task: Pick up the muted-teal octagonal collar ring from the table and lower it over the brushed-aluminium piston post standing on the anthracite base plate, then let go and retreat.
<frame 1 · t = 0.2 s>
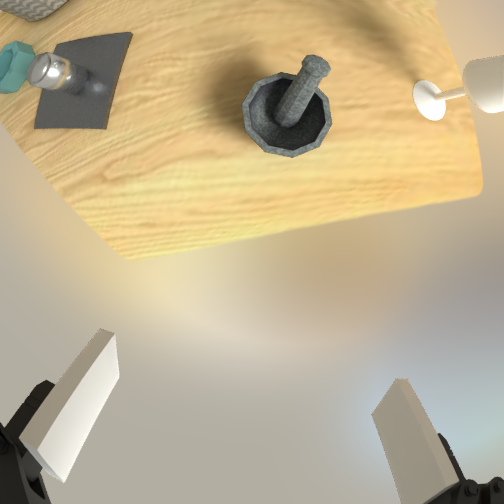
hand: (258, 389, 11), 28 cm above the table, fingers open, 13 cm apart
piston: (78, 81, 30), on the table
mortar and pestle: (284, 118, 33), on the table
ring: (18, 69, 28), on the table
champagne flute: (429, 100, 30), on the table
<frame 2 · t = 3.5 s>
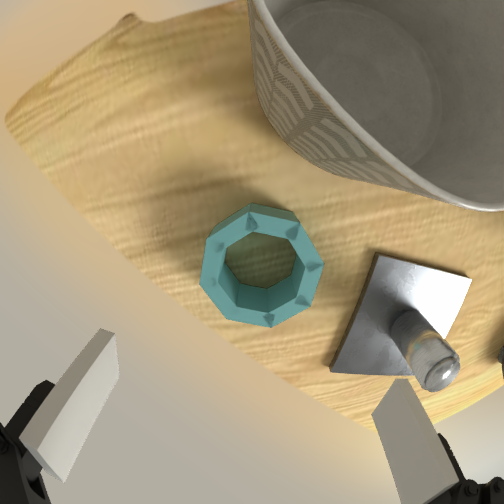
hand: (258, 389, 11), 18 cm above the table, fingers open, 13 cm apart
piston: (404, 323, 30), on the table
planter: (349, 87, 23), on the table
ring: (260, 255, 28), on the table
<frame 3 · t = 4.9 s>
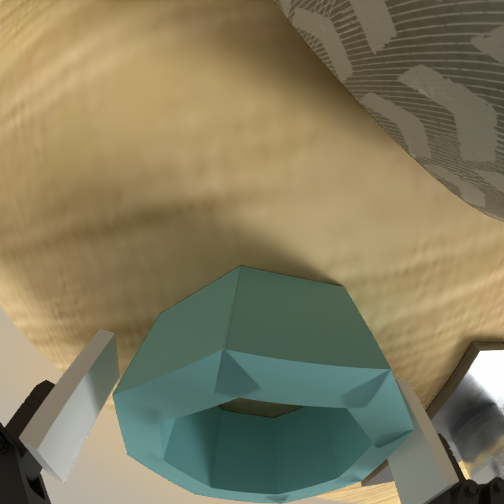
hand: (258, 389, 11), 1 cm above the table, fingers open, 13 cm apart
piston: (471, 417, 14), on the table
planter: (447, 20, 6), on the table
ring: (264, 372, 12), on the table
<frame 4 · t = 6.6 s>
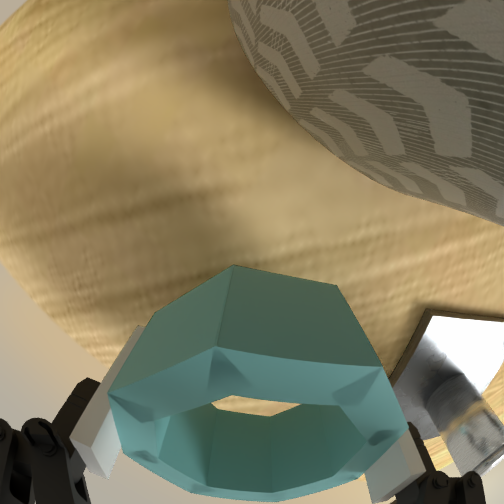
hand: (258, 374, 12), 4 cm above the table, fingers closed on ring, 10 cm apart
piston: (442, 387, 19), on the table
planter: (394, 42, 11), on the table
ring: (258, 370, 12), point 4 cm above the table, touching gripper
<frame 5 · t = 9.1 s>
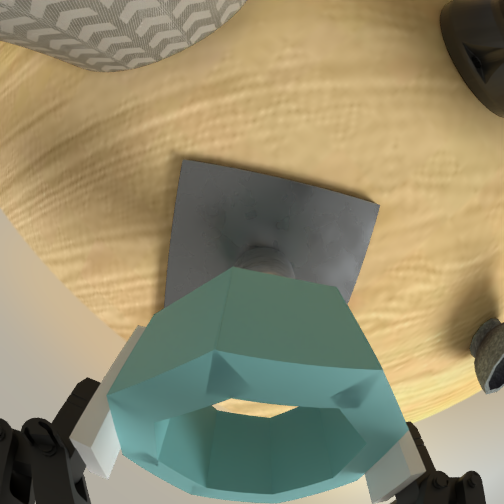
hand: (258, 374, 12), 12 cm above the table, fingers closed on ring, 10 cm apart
piston: (262, 271, 24), on the table
mortar and pestle: (487, 332, 26), on the table
ring: (258, 372, 12), point 12 cm above the table, touching gripper
when the fingers open (2 cm above the table, at t = 11.5 s): ring stays where it is, resting on piston.
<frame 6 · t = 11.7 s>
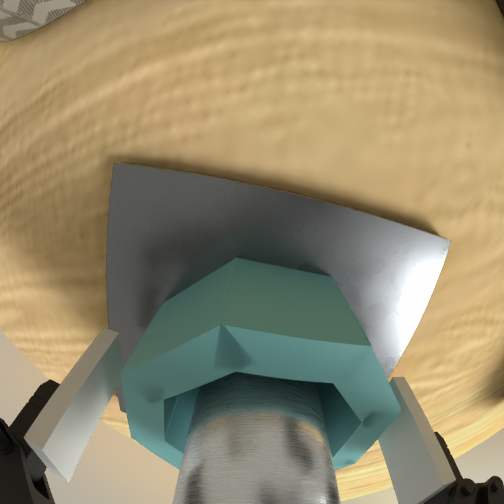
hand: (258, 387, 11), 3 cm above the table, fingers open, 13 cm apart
piston: (258, 346, 14), on the table
ring: (259, 358, 13), point 1 cm above the table, touching piston
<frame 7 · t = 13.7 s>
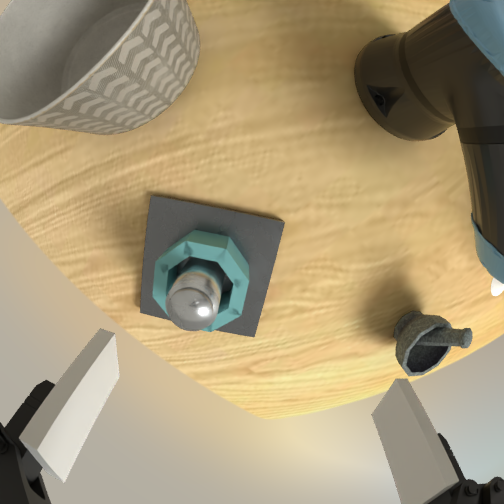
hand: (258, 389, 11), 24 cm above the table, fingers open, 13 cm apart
piston: (205, 269, 34), on the table
planter: (132, 68, 27), on the table
mortar and pestle: (411, 323, 38), on the table
ring: (205, 272, 33), point 1 cm above the table, touching piston
champagne flute: (499, 280, 37), on the table
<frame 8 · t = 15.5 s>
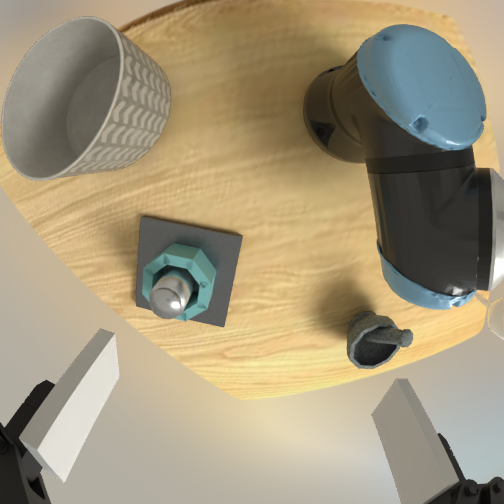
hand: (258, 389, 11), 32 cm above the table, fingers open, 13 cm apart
piston: (184, 272, 44), on the table
planter: (122, 112, 36), on the table
mortar and pestle: (365, 322, 46), on the table
ring: (183, 275, 43), point 1 cm above the table, touching piston
champagne flute: (463, 285, 44), on the table
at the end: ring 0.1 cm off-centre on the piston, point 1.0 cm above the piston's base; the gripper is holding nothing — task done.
